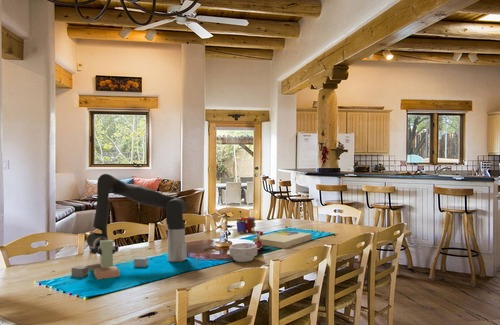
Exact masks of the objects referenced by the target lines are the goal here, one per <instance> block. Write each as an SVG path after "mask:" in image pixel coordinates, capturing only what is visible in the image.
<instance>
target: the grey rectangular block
mask: <svg viewBox="0 0 500 325" xmlns="http://www.w3.org/2000/svg"><path fill="white" fill-rule="evenodd" d="M88 275H89V266H81V265H77V266H72V267H71V277H74V278H75V277H77V278H83V277H86V276H88Z"/></svg>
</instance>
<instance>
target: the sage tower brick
mask: <svg viewBox="0 0 500 325" xmlns="http://www.w3.org/2000/svg"><path fill="white" fill-rule="evenodd" d="M113 242H114V241H113V240H112V239H111V238H110V239H109V238H108V240H100V249H101V250H102V255H100V254H99V266H100V268H105V267H113V266H114V254H113V246H114V244H113Z"/></svg>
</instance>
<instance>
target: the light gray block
mask: <svg viewBox="0 0 500 325" xmlns="http://www.w3.org/2000/svg"><path fill="white" fill-rule="evenodd" d="M148 266H149V257H147V256H146V257H145V256H140V257H138V256H136V257H135V258H133V267H134V268H137V267H139V268H145V267H148Z"/></svg>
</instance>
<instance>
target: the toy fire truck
mask: <svg viewBox="0 0 500 325" xmlns="http://www.w3.org/2000/svg"><path fill="white" fill-rule="evenodd" d="M256 235H257V236H256V237H257V240H258V241H257V242H255V245H257V248H260V247H261V245H262V241H260V236H263V235H264V231H257V232H256ZM262 246H263V245H262Z"/></svg>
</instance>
